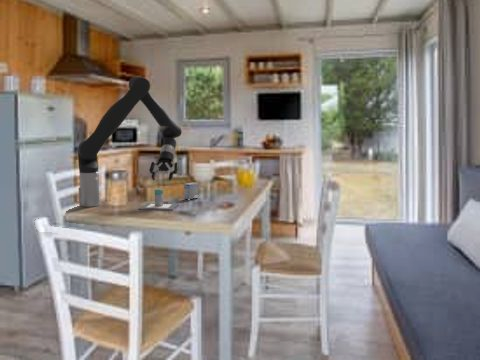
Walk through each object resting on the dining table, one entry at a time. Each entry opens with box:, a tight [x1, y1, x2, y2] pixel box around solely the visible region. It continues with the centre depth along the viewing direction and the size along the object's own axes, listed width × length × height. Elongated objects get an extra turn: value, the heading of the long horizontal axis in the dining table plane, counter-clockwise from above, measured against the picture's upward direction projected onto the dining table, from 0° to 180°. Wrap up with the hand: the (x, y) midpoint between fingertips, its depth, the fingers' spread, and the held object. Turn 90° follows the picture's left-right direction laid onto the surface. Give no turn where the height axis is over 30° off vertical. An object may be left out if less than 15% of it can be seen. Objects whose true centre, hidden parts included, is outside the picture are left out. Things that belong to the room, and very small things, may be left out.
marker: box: [154, 188, 164, 206], centre depth 231 cm, size 4×4×8 cm
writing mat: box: [138, 202, 179, 211], centre depth 231 cm, size 17×13×1 cm
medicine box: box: [183, 182, 200, 200], centre depth 254 cm, size 8×4×9 cm, turn 144°
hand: (161, 179), depth 234 cm, fingers open, 8 cm apart
